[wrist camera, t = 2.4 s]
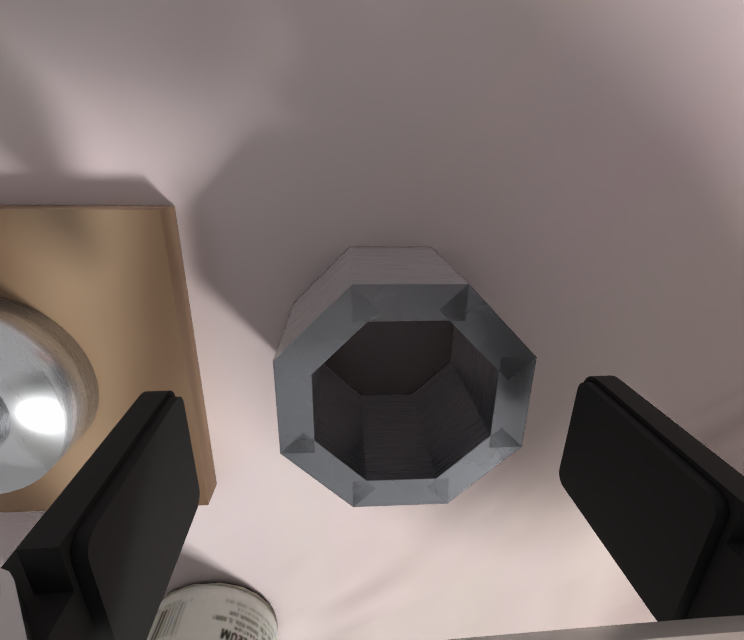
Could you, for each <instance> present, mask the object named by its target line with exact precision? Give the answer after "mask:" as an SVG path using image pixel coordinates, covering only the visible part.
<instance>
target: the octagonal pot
mask: <svg viewBox="0 0 744 640" xmlns="http://www.w3.org/2000/svg"><path fill="white" fill-rule="evenodd" d="M371 321H450V322H451V323H452V324H453V325H454V328H453V340H452V351H451V361H450V362H449V363H448V364H446V365H445V366H444V367H443V368H442V369H441V370H440V371H438V372H437V373H436V374H435V375H434V376H433V377H431V378H430V379H429V380H428V381H427V382H426V383H424V384H423V385H422V386H421V387H420V388H419V389H417V390H416V391H415V392H414V393H413V394H393V395H360V394H359V393H358V392H357V391H355V390H354V389H353V388H352V387H351V386H350V385H348V384H347V383H346V382H345V381H344V380H343V379H341V378H340V377H339V376H338V375H337V374H335V373H334V372H333V371H332V370H331V369H330V368H328V367H327V366H326V365H325V364H324V362H325V361H326V360H328V359H329V358H330V357H331V356H332V355H333V354H334V353H335V352H336V351H337V350H338V349H339V348H340V347H341V346H342V345H344V344H345V343H346V342H347V341H348V340H349V339H350V338H351V337H352V336H353V335H354V334H355V333H356V332H357V331H358V330H360V329H361V328H362V327H363V326H364V325H365V324H366V323H367V322H371ZM536 358H537V357H536V356H535V355H534V354H533V353H532V352H531V351H530V350H529V349H528V348H527V346H526V345H525V344H524V343H523V342H522V341H521V340H520V339H519V338H518V337H517V336H516V335H515V333H514V332H513V331H512V330H511V329H510V328H509V327H508V326H507V325H506V324H505V323H504V322H503V321H502V319H501V318H500V317H499V316H498V315H497V314H496V313H495V312H494V311H493V310H492V309H491V308H490V306H489V305H488V304H487V303H486V302H485V301H484V300H483V299H482V298H481V297H480V296H479V295H478V293H477V292H476V291H475V290H474V289H473V288H472V287H471V286H470V285H469V283H468V282H467V281H465V280H464V279H463V278H462V277H461V276H460V275H459V274H458V273H457V272H456V271H455V270H454V269H453V268H452V267H451V266H450V265H449V264H448V263H447V262H446V261H445V260H444V259H443V258H442V257H441V256H440V255H439V254H438V253H437V252H436V251H435V250H434V249H433V248H432V247H350V248H349V249H348V250H347V251H346V252H345V253H344V254H343V255H342V256H341V257H340V258H339V259H338V260H337V261H336V262H335V263H334V264H333V265H332V266H331V267H330V268H329V269H328V270H327V271H326V272H325V273H324V274H323V275H322V276H321V277H320V278H319V279H318V280H317V281H316V282H315V283H314V284H313V285H312V286H311V287H310V288H309V289H308V290H307V291H306V292H305V293H304V294H303V295H302V296H301V297H300V298H299V299H298V300H297V301H296V302H295V303H294V305H293V308H292V311H291V313H290V316H289V319H288V322H287V324H286V327H285V330H284V332H283V335H282V338H281V341H280V343H279V346H278V349H277V352H276V354H275V357H274V360H273V368H274V380H275V392H276V405H277V417H278V430H279V442H280V454H282V455H283V456H285V457H286V458H287V459H289V460H290V461H291V462H293V463H294V464H295V465H297V466H298V467H300V468H301V469H302V470H304V471H305V472H306V473H308V474H309V475H310V476H312V477H313V478H314V479H316V480H317V481H319V482H320V483H321V484H323V485H324V486H325V487H327V488H328V489H329V490H331V491H332V492H334V493H335V494H336V495H338V496H339V497H340V498H342V499H343V500H344V501H346V502H347V503H348V504H350V505H351V506H353V507H364V506H391V505H418V504H445V503H448V502H450V501H451V500H452V499H454V498H455V497H456V496H458V495H459V494H460V493H461V492H463V491H464V490H465V489H467V488H468V487H469V486H471V485H472V484H473V483H475V482H476V481H477V480H478V479H480V478H481V477H482V476H484V475H485V474H486V473H488V472H489V471H490V470H491V469H493V468H494V467H495V466H497V465H498V464H499V463H501V462H502V461H503V460H505V459H506V458H507V457H508V456H510V455H511V454H512V453H514V452H515V451H516V450H518V449H519V448H520V447H521V446H522V440H523V434H524V428H525V423H526V417H527V411H528V405H529V399H530V393H531V387H532V381H533V375H534V369H535V363H536Z"/></svg>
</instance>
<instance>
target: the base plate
mask: <svg viewBox="0 0 744 640" xmlns="http://www.w3.org/2000/svg"><path fill="white" fill-rule="evenodd" d="M0 296H1V297H5V298H8V299H12V300H15V301H18V302H20V303H23V304H25V305H28V306H30V307H32V308H34V309H36V310H38V311H40V312H41V313H43V314H44V315H46V316H48V317H49V318H51V319H52V320H54V321H55V322H56V323H57V324H59V325H60V326H61V327H62V328H64V329H65V330H66V331H67V332H68V333H69V334H70V335H71V336H72V337H73V338H74V339H75V340H76V342H77V343H78V344H79V345H80V347H81V348H82V349H83V351H84V352H85V354H86V355H87V357H88V358H89V361H90V363H91V365H92V367H93V369H94V372H95V375H96V378H97V382H98V388H99V404H98V410H97V413H96V416H95V419H94V421H93V422H92V424H91V426H90V428H89V429H88V430H87V431H86V433H85V434H84V435H83V436H82V437H81V438H80V439H79V440H78V441H77V442H76V443H75V444H74V445H73V446H72V447H71V448H70V450H69V451H68V452H67V453H66V454H65V455H64V456H63V457H62V458H61V459H60V460H59V461H58V462H57V463H56V464H55V465H54V466H53V467H52V468H51V469H50V470H49V471H48V472H47V473H46V474H45V475H44V476H43V477H42V478H40V479H38V480H37V481H35V482H34V483H32V484H30V485H28V486H26V487H24V488H22V489H18V490H15V491H12V492H8V493H3V494H0V512H24V511H47V510H48V509H49V507H50V506H51V505H52V504H53V502H54V501H55V500H56V499H57V498H58V496H59V495H60V494H61V493H62V491H63V490H64V489H65V488H66V486H67V485H68V484H69V483H70V481H71V480H72V479H73V478H74V476H75V475H76V474H77V473H78V471H79V470H80V469H81V468H82V466H83V465H84V464H85V463H86V462H87V460H88V459H89V458H90V457H91V455H92V454H93V453H94V452H95V450H96V449H97V448H98V447H99V445H100V444H101V443H102V442H103V440H104V439H105V438H106V437H107V435H108V434H109V433H110V432H111V431H112V429H113V428H114V427H115V426H116V424H117V423H118V422H119V421H120V419H121V418H122V417H123V416H124V414H125V413H126V412H127V411H128V409H129V408H130V407H131V406H132V404H133V403H134V402H135V401H136V399H137V398H138V397H139V396H140V394H142V393H143V392H145V391H168V390H171V391H173V392H174V394H175V396H176V397H182V399H183V401H184V405H185V411H186V417H187V422H188V428H189V433H190V439H191V444H192V450H193V455H194V461H195V467H196V472H197V478H198V483H199V489H200V498H199V504H198V505H208V504H209V502H210V499H211V497H212V494H213V492H214V489H215V487H216V484H217V483H216V477H215V470H214V464H213V457H212V450H211V444H210V437H209V431H208V424H207V417H206V411H205V404H204V398H203V391H202V384H201V378H200V371H199V365H198V358H197V351H196V345H195V338H194V332H193V325H192V318H191V312H190V305H189V299H188V292H187V285H186V279H185V272H184V266H183V259H182V252H181V246H180V239H179V233H178V226H177V219H176V213H175V206H62V205H0Z"/></svg>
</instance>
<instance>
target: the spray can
mask: <svg viewBox="0 0 744 640" xmlns="http://www.w3.org/2000/svg"><path fill="white" fill-rule="evenodd" d="M147 640H278V626H277V620H276V615H275V613H274V610H273V608H272V607H271V606H270V604H269V603H267V602H266V601H265V600H264V599H262V598H261V597H260V596H259V595H258V594H256V593H254V592H252V591H250V590H248V589H246V588H244V587H241V586H236V585H231V584H226V583H221V582H220V583H210V584H193V585H189V586H186V587H183V588H181V589H178V590H175V591H172V592H170V593H168V594H167V595H166V597H165V598H164V599H163V600H162V601H161V604H160V606H159V609H158V612H157V614H156V617H155V619H154V622H153V625H152V627H151V630H150V632H149V635H148V638H147Z"/></svg>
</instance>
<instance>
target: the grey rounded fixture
mask: <svg viewBox="0 0 744 640" xmlns="http://www.w3.org/2000/svg"><path fill="white" fill-rule="evenodd" d="M98 404H99V388H98V382H97V378H96V375H95V372H94V369H93V367H92V365H91V363H90V361H89V358H88V357H87V355H86V354H85V352H84V351H83V349H82V348H81V347H80V345H79V344H78V343H77V342H76V340H75V339H74V338H73V337H72V336H71V335H70V334H69V333H68V332H67V331H66V330H65V329H64V328H62V327H61V326H60V325H59V324H57V323H56V322H55V321H54V320H52V319H51V318H49V317H48V316H46V315H44V314H43V313H41V312H40V311H38V310H36V309H34V308H32V307H30V306H28V305H25V304H23V303H20V302H18V301H15V300H12V299H8V298H5V297H1V296H0V494H3V493H8V492H12V491H15V490H18V489H22V488H24V487H26V486H28V485H30V484H32V483H34V482H35V481H37V480H38V479H40V478H42V477H43V476H44V475H45V474H46V473H47V472H48V471H49V470H50V469H51V468H52V467H53V466H54V465H55V464H56V463H57V462H58V461H59V460H60V459H61V458H62V457H63V456H64V455H65V454H66V453H67V452H68V451H69V450H70V448H71V447H72V446H73V445H74V444H75V443H76V442H77V441H78V440H79V439H80V438H81V437H82V436H83V435H84V434H85V433H86V431H87V430H88V429H89V428H90V426H91V424H92V422H93V421H94V419H95V416H96V413H97V410H98Z"/></svg>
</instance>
